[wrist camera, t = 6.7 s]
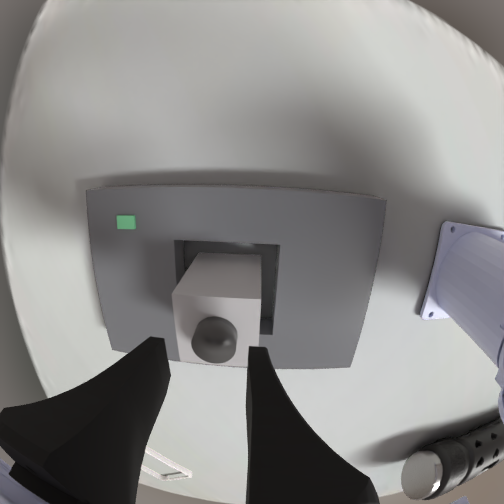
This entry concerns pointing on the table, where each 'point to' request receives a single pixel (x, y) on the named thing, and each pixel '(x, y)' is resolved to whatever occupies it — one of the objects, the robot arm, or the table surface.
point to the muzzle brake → (452, 461)
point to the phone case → (168, 462)
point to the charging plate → (239, 231)
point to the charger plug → (218, 309)
